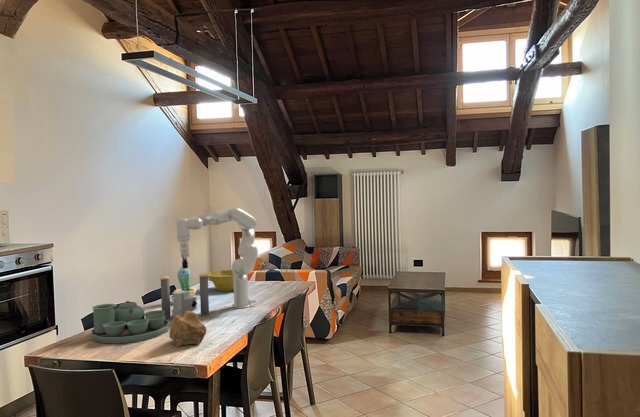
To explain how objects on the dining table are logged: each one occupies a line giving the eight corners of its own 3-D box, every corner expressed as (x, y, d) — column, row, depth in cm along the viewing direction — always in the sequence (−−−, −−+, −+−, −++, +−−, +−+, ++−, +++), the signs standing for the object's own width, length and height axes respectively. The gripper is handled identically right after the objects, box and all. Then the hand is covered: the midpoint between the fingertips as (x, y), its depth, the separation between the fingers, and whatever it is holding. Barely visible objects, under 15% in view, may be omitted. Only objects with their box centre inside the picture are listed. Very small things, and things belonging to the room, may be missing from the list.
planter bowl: (244, 293, 358) (243, 275, 357) (202, 294, 358) (201, 276, 358) (251, 285, 390) (250, 269, 390) (212, 286, 390) (211, 270, 390)
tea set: (120, 349, 230) (118, 315, 230) (76, 337, 253) (75, 306, 252) (185, 329, 263) (184, 299, 263) (141, 320, 286) (140, 293, 285)
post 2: (208, 312, 298) (207, 273, 297) (209, 314, 293) (208, 274, 292) (200, 313, 296) (199, 274, 296) (200, 315, 291) (199, 275, 291)
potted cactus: (169, 303, 329) (168, 267, 329) (183, 298, 344) (182, 264, 343) (187, 304, 324) (186, 268, 323) (201, 299, 338) (200, 265, 337)
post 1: (170, 316, 291) (169, 276, 291) (170, 318, 286) (169, 277, 286) (162, 317, 290) (160, 277, 289) (161, 319, 285) (160, 278, 284)
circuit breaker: (193, 318, 286) (192, 293, 286) (172, 317, 289) (171, 293, 289) (199, 314, 294) (198, 291, 293) (178, 314, 296) (177, 290, 296)
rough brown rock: (197, 352, 224) (199, 320, 224) (163, 348, 226) (165, 317, 226) (213, 338, 247) (214, 310, 247) (182, 336, 249) (184, 307, 249)
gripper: (190, 239, 284) (191, 269, 285) (189, 237, 299) (191, 266, 299) (177, 240, 282) (179, 270, 283) (177, 238, 296) (178, 267, 297)
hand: (185, 268), depth 291 cm, fingers closed
